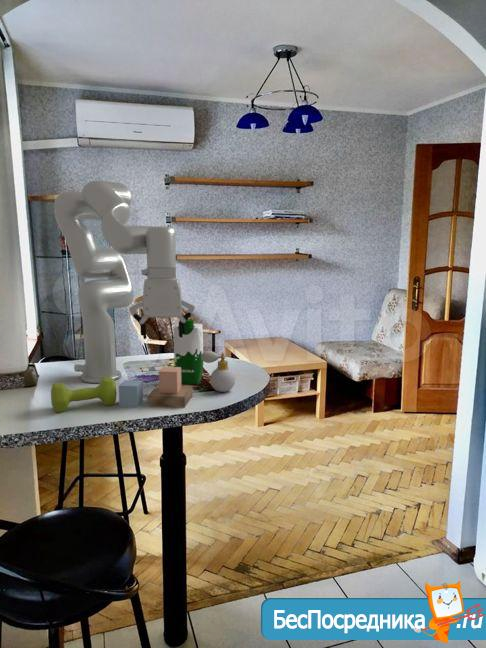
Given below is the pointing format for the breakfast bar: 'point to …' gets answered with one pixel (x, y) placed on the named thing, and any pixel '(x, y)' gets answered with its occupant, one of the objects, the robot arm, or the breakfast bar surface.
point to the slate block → (130, 393)
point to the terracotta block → (170, 380)
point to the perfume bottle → (219, 372)
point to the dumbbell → (82, 394)
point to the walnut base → (170, 397)
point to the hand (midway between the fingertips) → (162, 337)
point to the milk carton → (189, 352)
